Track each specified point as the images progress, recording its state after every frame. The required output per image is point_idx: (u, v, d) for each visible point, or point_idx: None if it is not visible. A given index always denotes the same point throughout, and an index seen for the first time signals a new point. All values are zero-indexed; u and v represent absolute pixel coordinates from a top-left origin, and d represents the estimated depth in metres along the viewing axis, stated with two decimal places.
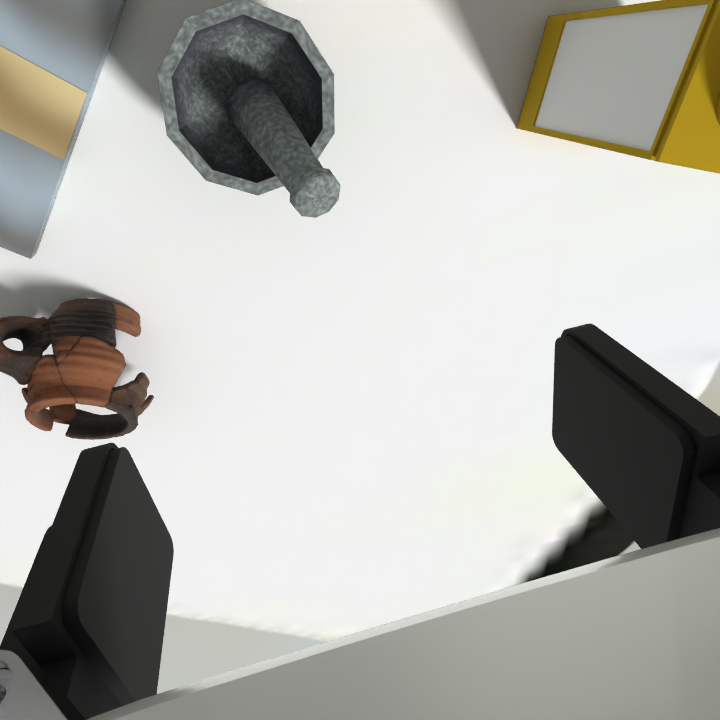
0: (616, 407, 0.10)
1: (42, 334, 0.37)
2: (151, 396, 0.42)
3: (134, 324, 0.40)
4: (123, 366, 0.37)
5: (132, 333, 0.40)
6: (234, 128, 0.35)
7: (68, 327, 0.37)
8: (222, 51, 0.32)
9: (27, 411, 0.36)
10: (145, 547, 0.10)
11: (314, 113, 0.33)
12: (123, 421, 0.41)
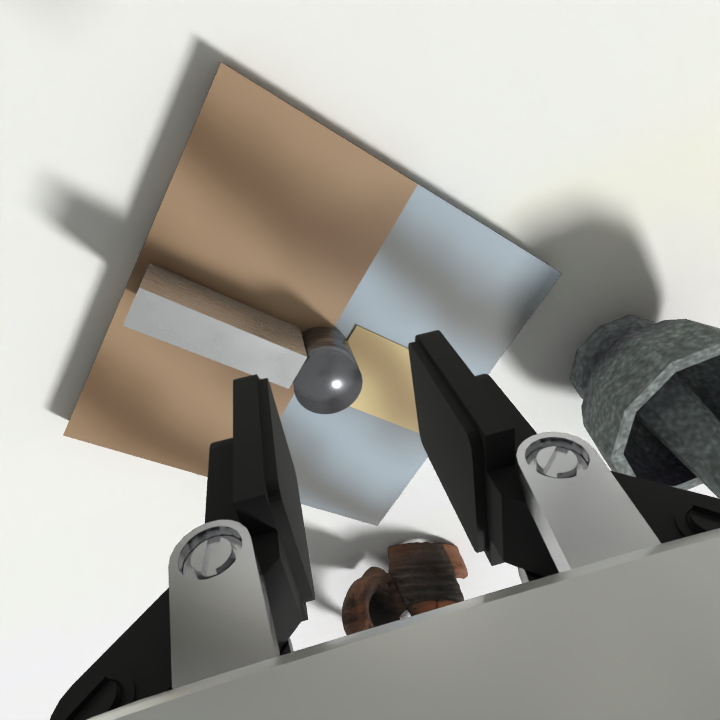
0: (440, 407, 0.10)
1: (393, 597, 0.35)
2: None
3: (464, 566, 0.38)
4: None
5: (462, 577, 0.37)
6: None
7: (419, 589, 0.35)
8: None
9: None
10: (288, 465, 0.11)
11: None
12: None
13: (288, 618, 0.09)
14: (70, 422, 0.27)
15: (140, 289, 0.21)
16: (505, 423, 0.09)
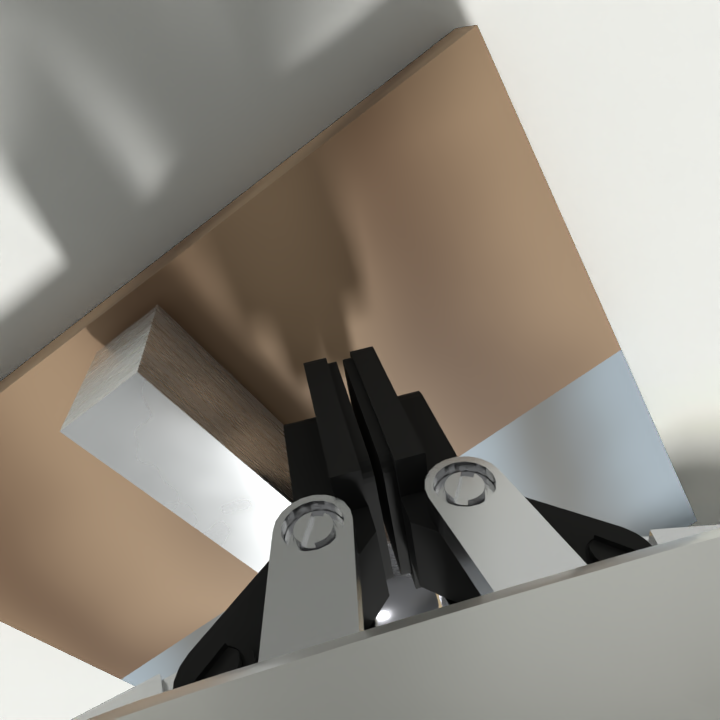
0: (364, 428, 0.10)
1: None
2: None
3: None
4: None
5: None
6: None
7: None
8: None
9: None
10: None
11: None
12: None
13: (379, 593, 0.09)
14: None
15: (137, 376, 0.09)
16: (416, 448, 0.09)
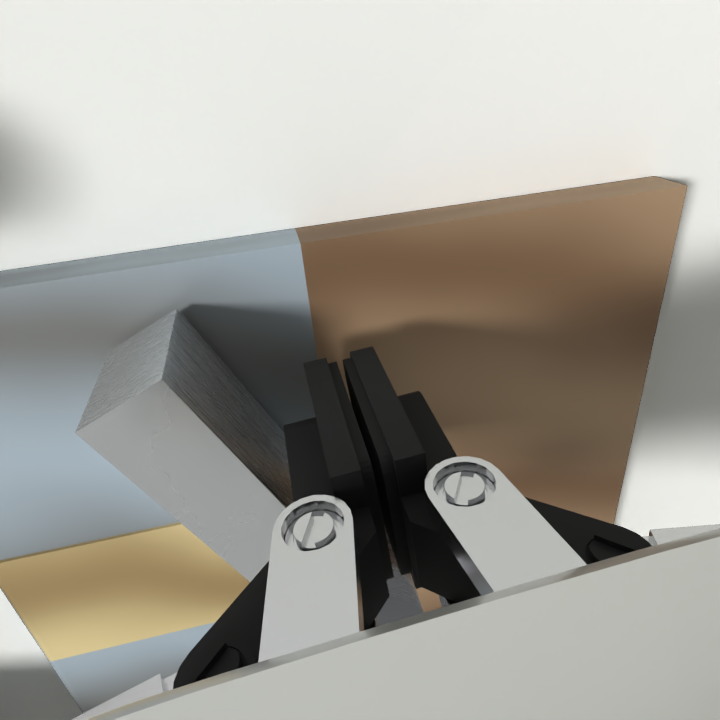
0: (364, 428, 0.10)
1: None
2: None
3: None
4: None
5: None
6: None
7: None
8: None
9: None
10: None
11: None
12: None
13: (379, 593, 0.09)
14: (676, 221, 0.13)
15: (161, 383, 0.09)
16: (416, 448, 0.09)
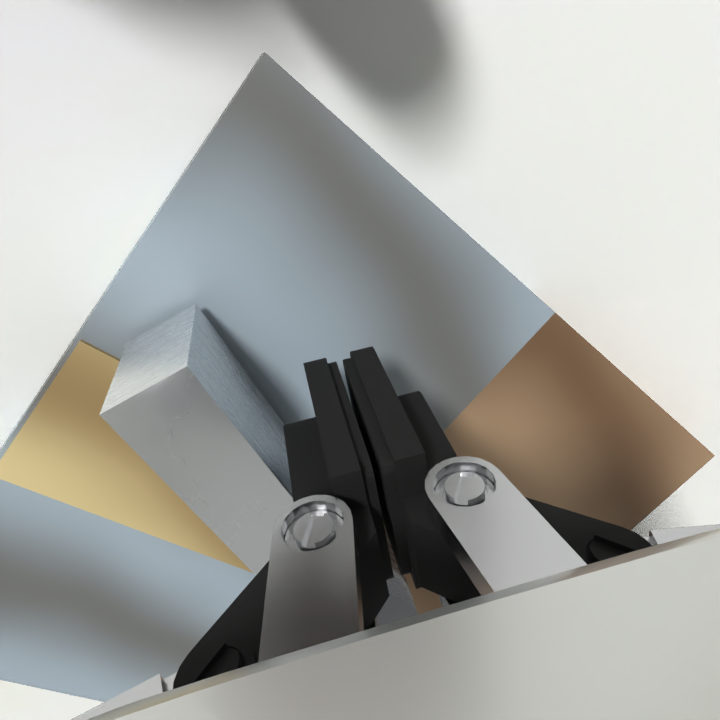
0: (364, 428, 0.10)
1: None
2: None
3: None
4: None
5: None
6: None
7: None
8: None
9: None
10: None
11: None
12: None
13: (379, 593, 0.09)
14: (694, 471, 0.19)
15: (186, 370, 0.09)
16: (416, 448, 0.09)
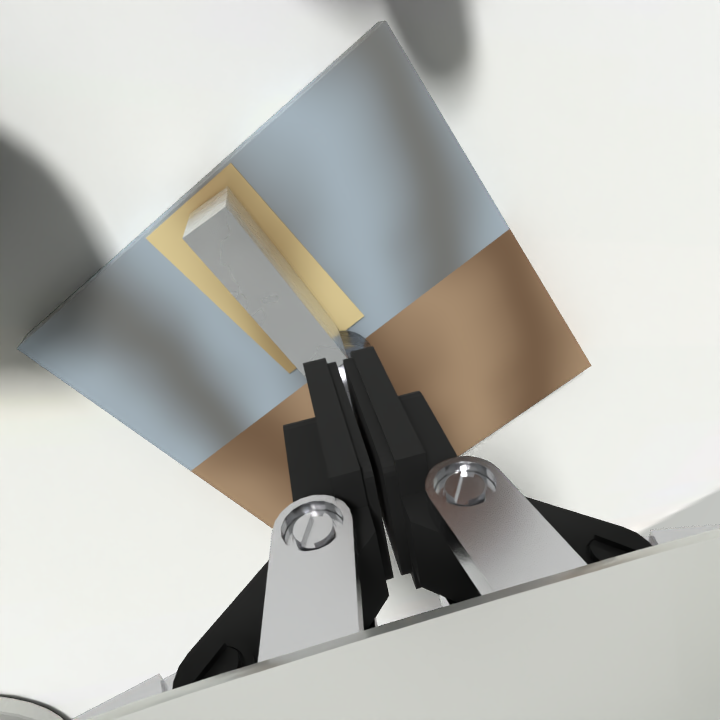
0: (364, 428, 0.10)
1: None
2: None
3: None
4: None
5: None
6: None
7: None
8: None
9: None
10: None
11: None
12: None
13: (379, 593, 0.09)
14: (576, 374, 0.28)
15: (225, 209, 0.17)
16: (416, 448, 0.09)
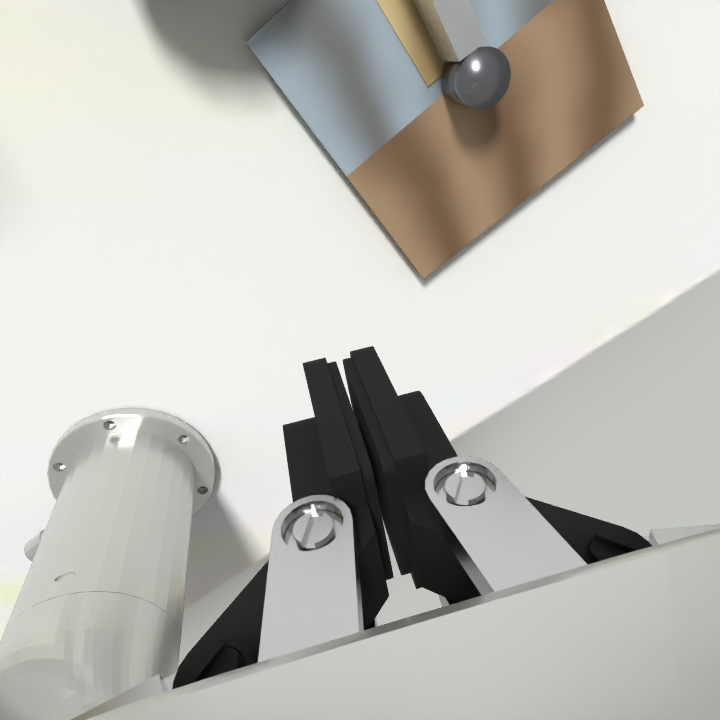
0: (364, 428, 0.10)
1: None
2: None
3: None
4: None
5: None
6: None
7: None
8: None
9: None
10: None
11: None
12: None
13: (378, 593, 0.09)
14: (632, 113, 0.37)
15: None
16: (416, 448, 0.09)
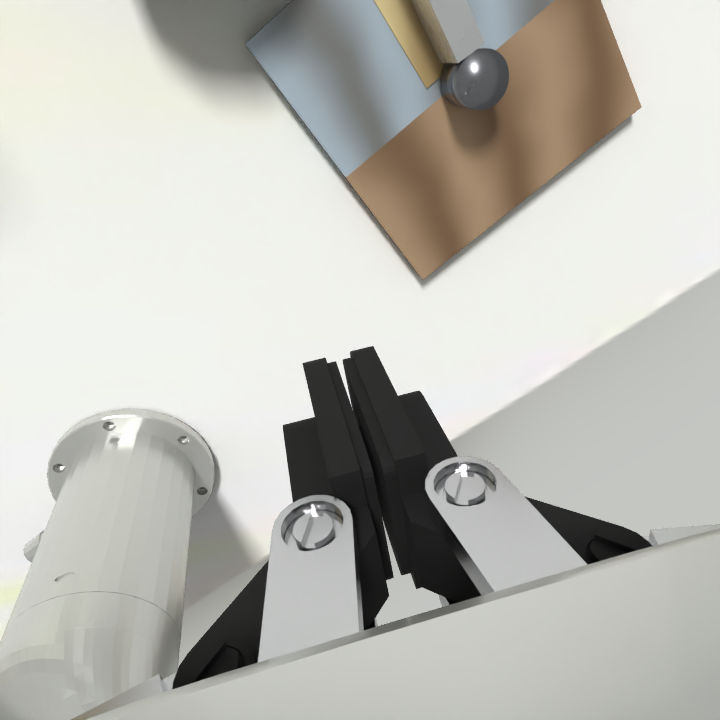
0: (364, 428, 0.10)
1: None
2: None
3: None
4: None
5: None
6: None
7: None
8: None
9: None
10: None
11: None
12: None
13: (379, 593, 0.09)
14: (630, 114, 0.37)
15: None
16: (416, 448, 0.09)
